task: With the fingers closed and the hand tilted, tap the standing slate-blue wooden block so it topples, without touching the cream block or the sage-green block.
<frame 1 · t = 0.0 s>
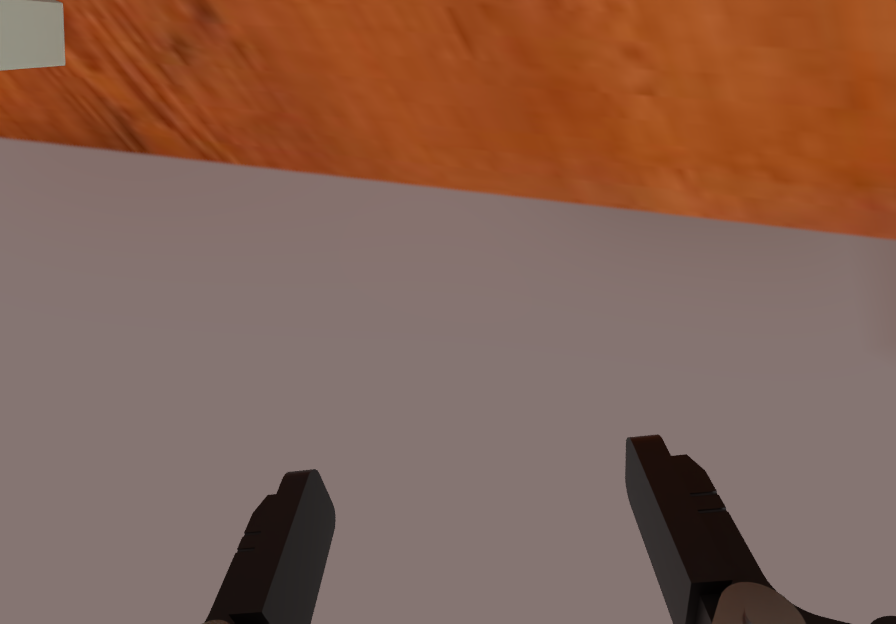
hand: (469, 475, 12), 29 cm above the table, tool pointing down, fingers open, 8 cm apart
sage block: (33, 23, 33), on the table
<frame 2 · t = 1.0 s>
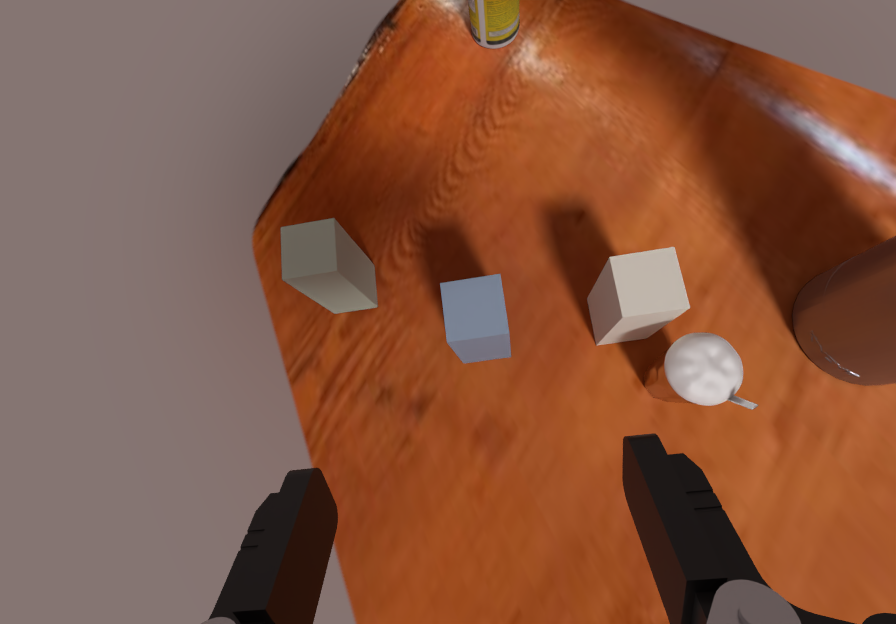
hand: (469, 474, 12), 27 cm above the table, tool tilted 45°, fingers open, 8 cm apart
slate blue block: (484, 336, 40), on the table
cream block: (616, 318, 39), on the table
supplement bottle: (495, 32, 48), on the table
milkshake: (667, 385, 37), on the table
sage block: (354, 289, 43), on the table
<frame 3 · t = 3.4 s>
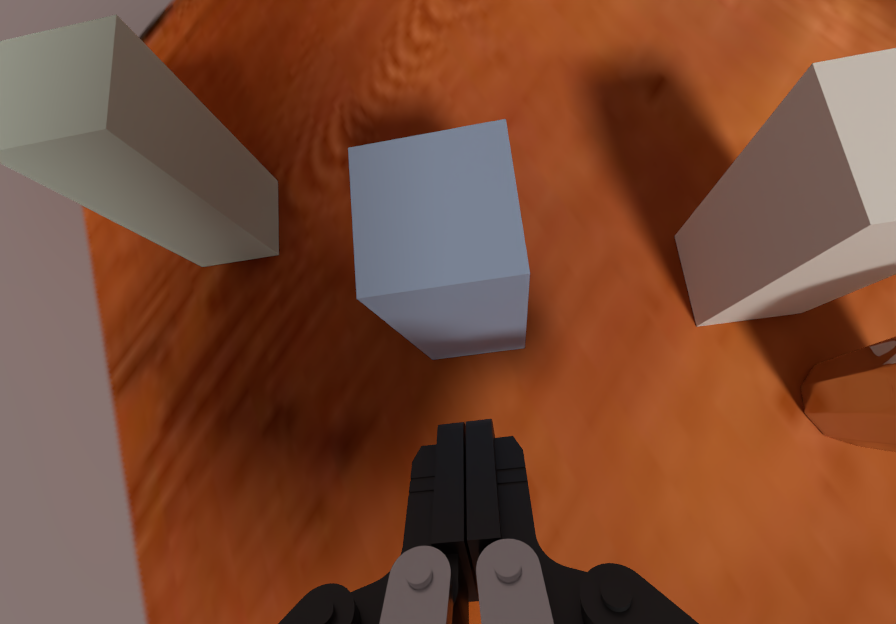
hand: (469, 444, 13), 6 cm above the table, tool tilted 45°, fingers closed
slate blue block: (472, 309, 21), on the table
cream block: (735, 273, 20), on the table
milkshake: (851, 409, 18), on the table
sage block: (240, 223, 24), on the table
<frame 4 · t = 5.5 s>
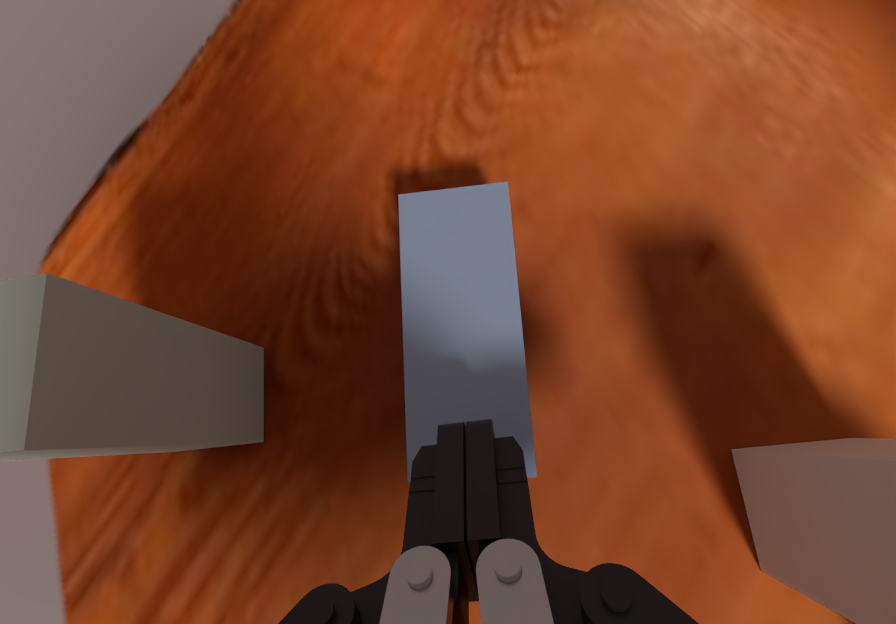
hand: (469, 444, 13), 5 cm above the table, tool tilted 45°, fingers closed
slate blue block: (476, 474, 17), point 2 cm above the table, tilted 90°
cream block: (806, 503, 16), on the table
sage block: (219, 398, 20), on the table
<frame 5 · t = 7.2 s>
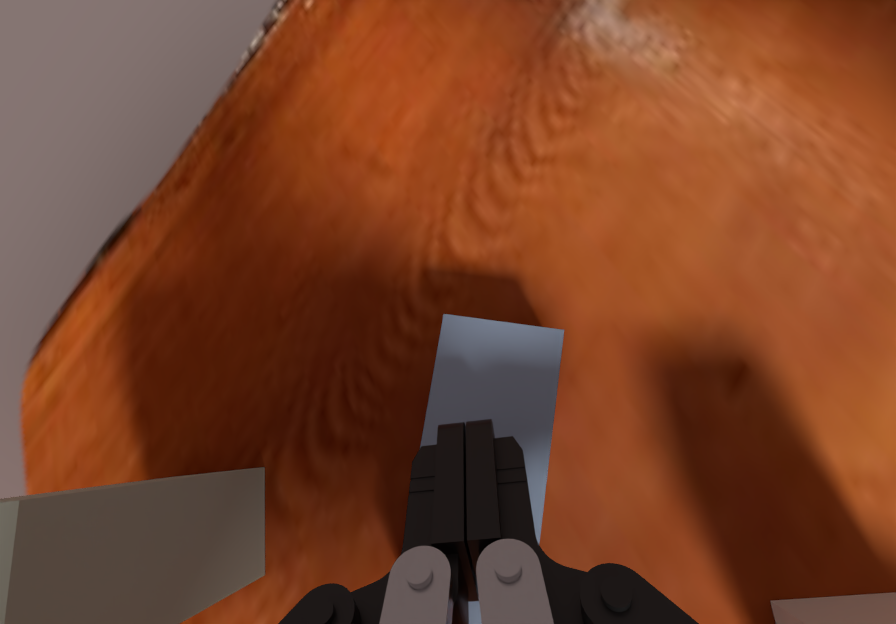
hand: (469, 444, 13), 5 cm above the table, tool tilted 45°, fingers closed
sage block: (217, 523, 19), on the table
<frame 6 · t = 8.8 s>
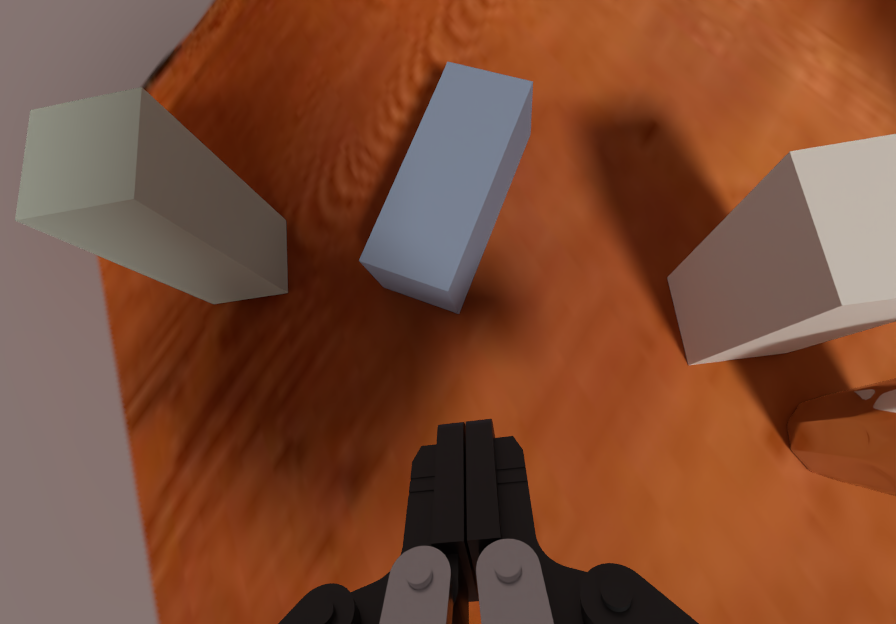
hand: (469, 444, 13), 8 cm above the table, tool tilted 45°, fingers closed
slate blue block: (412, 289, 21), point 2 cm above the table, tilted 90°
cream block: (725, 313, 21), on the table
milkshake: (834, 446, 19), on the table
sage block: (250, 261, 25), on the table
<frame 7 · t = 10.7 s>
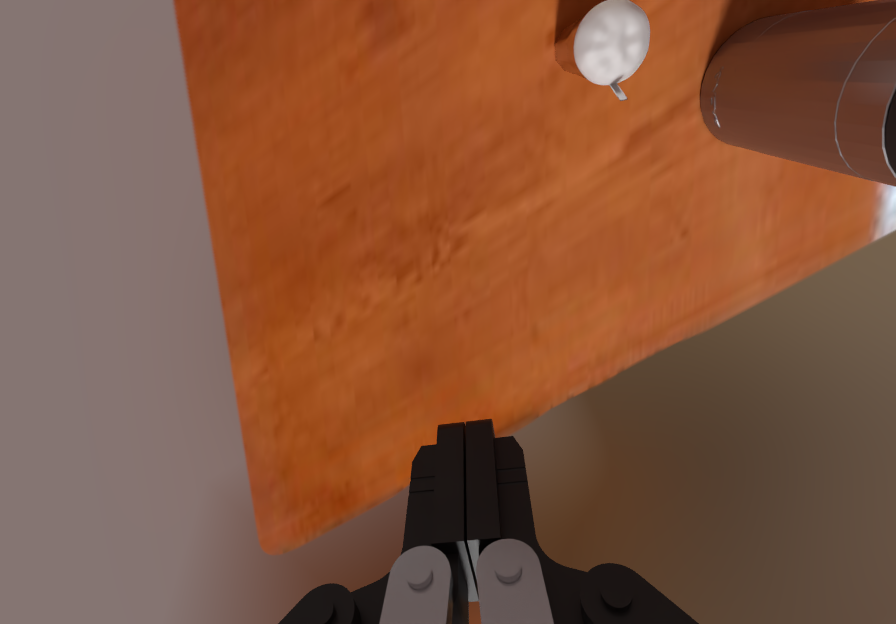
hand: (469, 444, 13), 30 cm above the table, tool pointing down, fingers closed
milkshake: (575, 54, 36), on the table
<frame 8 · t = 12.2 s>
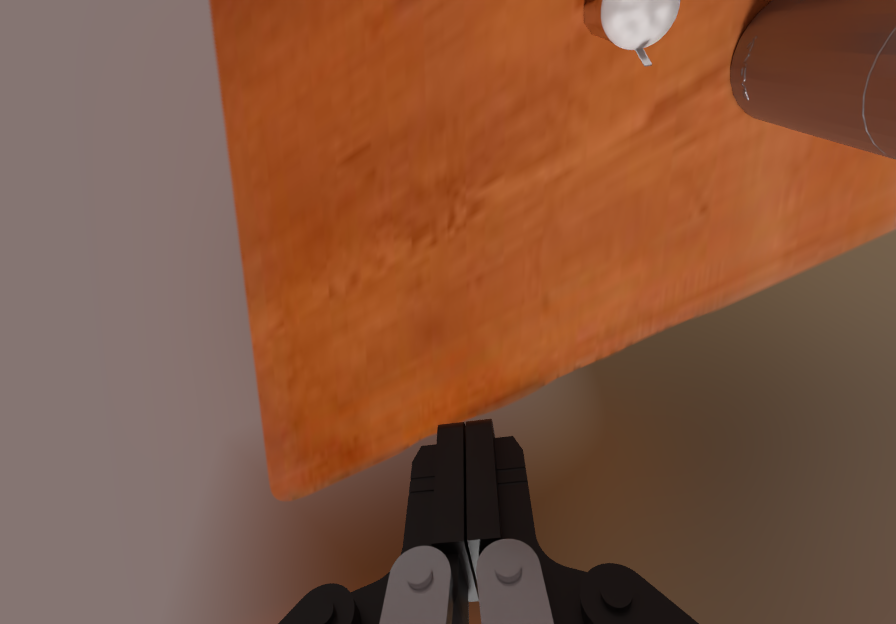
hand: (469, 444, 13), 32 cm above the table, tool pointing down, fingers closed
milkshake: (604, 18, 35), on the table
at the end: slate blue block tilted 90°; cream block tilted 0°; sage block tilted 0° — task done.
